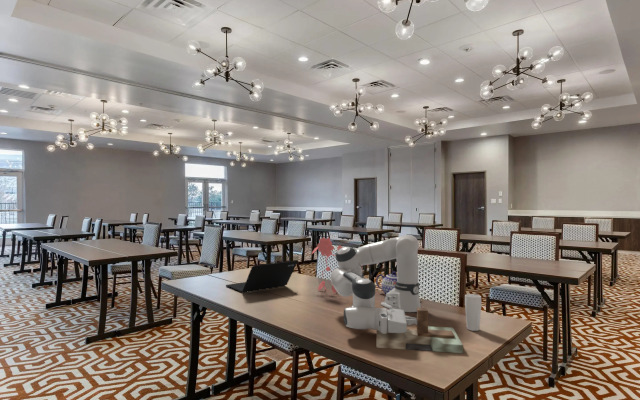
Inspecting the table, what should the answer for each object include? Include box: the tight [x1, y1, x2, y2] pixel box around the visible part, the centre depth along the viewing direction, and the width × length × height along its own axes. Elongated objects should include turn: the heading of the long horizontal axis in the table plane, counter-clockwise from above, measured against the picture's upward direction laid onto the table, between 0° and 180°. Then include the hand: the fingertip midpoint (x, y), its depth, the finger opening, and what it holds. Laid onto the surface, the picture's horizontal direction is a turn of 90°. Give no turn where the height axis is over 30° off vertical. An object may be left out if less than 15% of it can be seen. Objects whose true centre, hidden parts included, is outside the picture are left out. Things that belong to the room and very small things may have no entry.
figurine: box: [311, 236, 344, 295], centre depth 233 cm, size 15×26×35 cm, turn 51°
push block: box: [416, 307, 455, 338], centre depth 151 cm, size 14×6×10 cm, turn 81°
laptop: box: [225, 260, 299, 293], centre depth 246 cm, size 33×38×19 cm
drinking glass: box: [464, 293, 482, 332], centre depth 166 cm, size 7×7×15 cm
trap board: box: [375, 325, 464, 354], centre depth 152 cm, size 32×20×3 cm, turn 81°
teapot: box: [375, 270, 397, 295], centre depth 228 cm, size 25×15×15 cm, turn 48°
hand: (417, 321), depth 152 cm, fingers closed, pressing on push block
